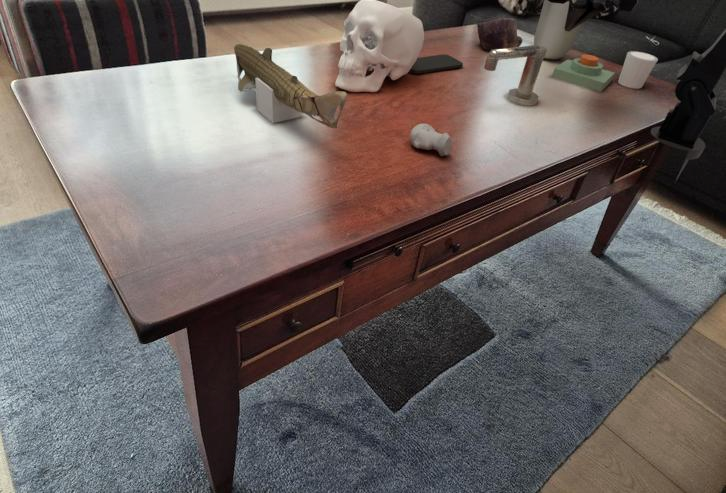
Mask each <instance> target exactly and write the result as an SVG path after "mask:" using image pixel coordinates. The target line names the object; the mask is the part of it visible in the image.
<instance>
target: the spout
mask: <svg viewBox="0 0 726 493" xmlns="http://www.w3.org/2000/svg"><path fill="white" fill-rule="evenodd" d="M546 51H547V49H546V48H545V47H543V46H539V45H534V44H532V45H525V46H524V45H523V46H519V47H514V48H504V49H494V50H492V51H490V50H489V53H488V55H487V56H486V59H485V63H484V68H483V69H484V70H486V71H489V72H495V71H496V69H497V65H498V61H502V60H510V59H511V60H512V59H518V58H519V59H520V58H527V57H529V56H531V57H533V58H539V59H541V58H543V59H545V58H544V57H545V54H546Z"/></svg>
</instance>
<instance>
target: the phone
mask: <svg viewBox="0 0 726 493" xmlns="http://www.w3.org/2000/svg"><path fill="white" fill-rule="evenodd" d="M463 65H464V63H463V62H462V61H460V60H458V59H457V58H455V57H453V56H451V55H449V54H445V53H443V54H442V53H441V54H434V55H427V56H421V57H418V58H417V60H416V61H415V63H414V64H413V66H412V67H411V69H410V71H409V72H410V73H411V74H416V75H420V74H426V73H432V72H433V73H434V72H438V71H439V72H440V71H445V70H451V69H453V70H454V69H458V68H462V67H463Z"/></svg>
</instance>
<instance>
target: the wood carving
mask: <svg viewBox="0 0 726 493" xmlns="http://www.w3.org/2000/svg"><path fill="white" fill-rule="evenodd" d="M233 49H234V55H235V60H236V74H237V80H238V83H237V90H238V91H239V92H240V93H241V92H246V90H255V99H256V111H257V112H258V113H260V114H261V115H262V116H264V117H265V118H266V119H267V120H269V122H271V123H272V124H275V123H280V122H284V121H289V120H294V119H298V118H302V117H303V115H306V116H307V117H309V118H311V119H313V120H314V121H316V122H318V123H320V124H322V125H324V126H326V127H327V128H331V129H337V128H338V122H339V119H340V117H341V114H342V112H343V109H344V107H345V105H346V102H347V99H348V94H347V92H346V91H345V90H344V91H342V90H339V91H338V90H337V91H332V92H328V93H325V94H323V95H318V94H316V93H315V92H314V91H312V90H310V89H309V88H308V87H307V86H306V85H305V84H304V83H303V82H301V81H300V80H299V79H298V76H296V75H293V74H291V73H290V72H289V71H287V70H285V69H284V68H283V67H281V66H280V65H278V64H277V63H276V62H275V61H273V49H272V48H270V47H265V48H264V50H263V51H262V53H261V52H260V51H259V50H258V49H255V48H253V47H251V46H248V45H245V44H241V43H238V44H235V45H234V48H233ZM243 72H244V75H243V76H242V77H241V75H242V73H243ZM338 108H339V111H338V114H337V115H336V117H335V114H336V111H337V109H338ZM316 117H319V118H320V119H317V118H316Z"/></svg>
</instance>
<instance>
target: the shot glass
mask: <svg viewBox="0 0 726 493" xmlns="http://www.w3.org/2000/svg"><path fill="white" fill-rule="evenodd" d="M658 60H659V58H658V57H656V56H655V55H653V54H650V53H647V52H644V51H636V50H630V51H628V52H626V56H625V59H624V62H623V64H622V68H621V72H620V75H619V77H618V80H617V82H618V84H620V86H621V85H622V86H623V87H626V88H629V89H634V90H635V89H637V90H639V89H642V88H643V86H644V84H645V83H646V81H647V79H648V77H649V76H650V74H651V73H652V71H653V69H654V67H655V66H656V64H657V62H659V61H658Z"/></svg>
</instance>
